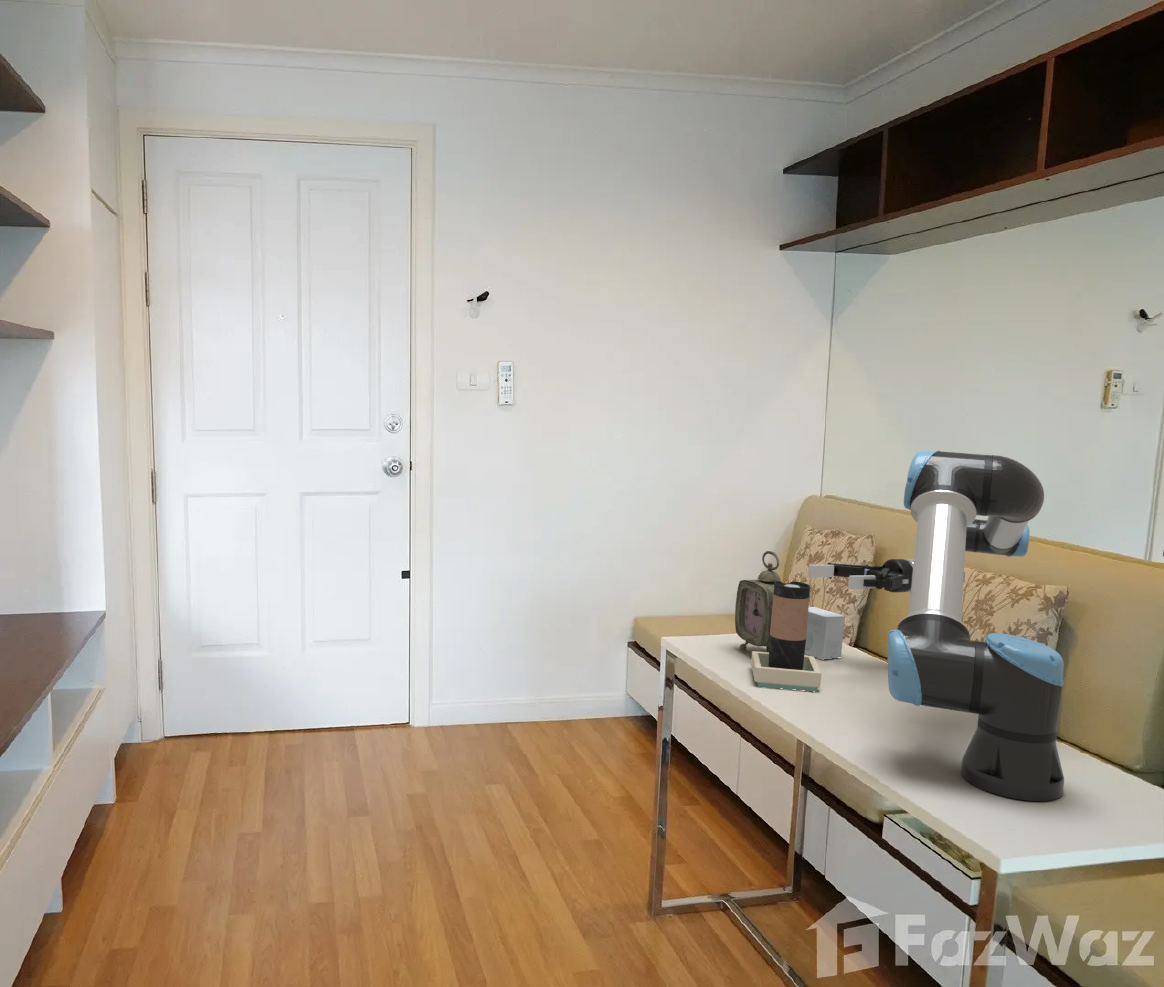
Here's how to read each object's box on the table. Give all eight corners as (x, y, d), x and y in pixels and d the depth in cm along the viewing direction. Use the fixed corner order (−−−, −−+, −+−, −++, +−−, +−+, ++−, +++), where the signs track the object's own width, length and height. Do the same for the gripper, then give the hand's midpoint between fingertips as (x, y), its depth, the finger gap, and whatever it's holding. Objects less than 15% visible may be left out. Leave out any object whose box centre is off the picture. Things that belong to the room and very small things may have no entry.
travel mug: (793, 683, 197) (801, 589, 195) (760, 675, 202) (767, 583, 200) (808, 675, 203) (816, 584, 201) (776, 668, 208) (783, 579, 206)
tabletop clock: (732, 649, 226) (739, 546, 224) (765, 647, 229) (773, 546, 227) (763, 666, 213) (771, 557, 210) (798, 664, 216) (806, 556, 213)
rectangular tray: (819, 692, 195) (821, 674, 195) (754, 686, 197) (755, 668, 196) (809, 668, 213) (811, 651, 212) (749, 663, 214) (751, 646, 214)
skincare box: (842, 658, 223) (846, 615, 222) (822, 661, 220) (825, 617, 219) (811, 647, 232) (815, 605, 231) (791, 649, 229) (795, 607, 228)
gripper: (944, 603, 203) (866, 605, 194) (865, 581, 225) (792, 582, 217) (947, 568, 202) (869, 569, 193) (868, 550, 225) (795, 550, 216)
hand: (828, 576), depth 205 cm, fingers open, 13 cm apart
